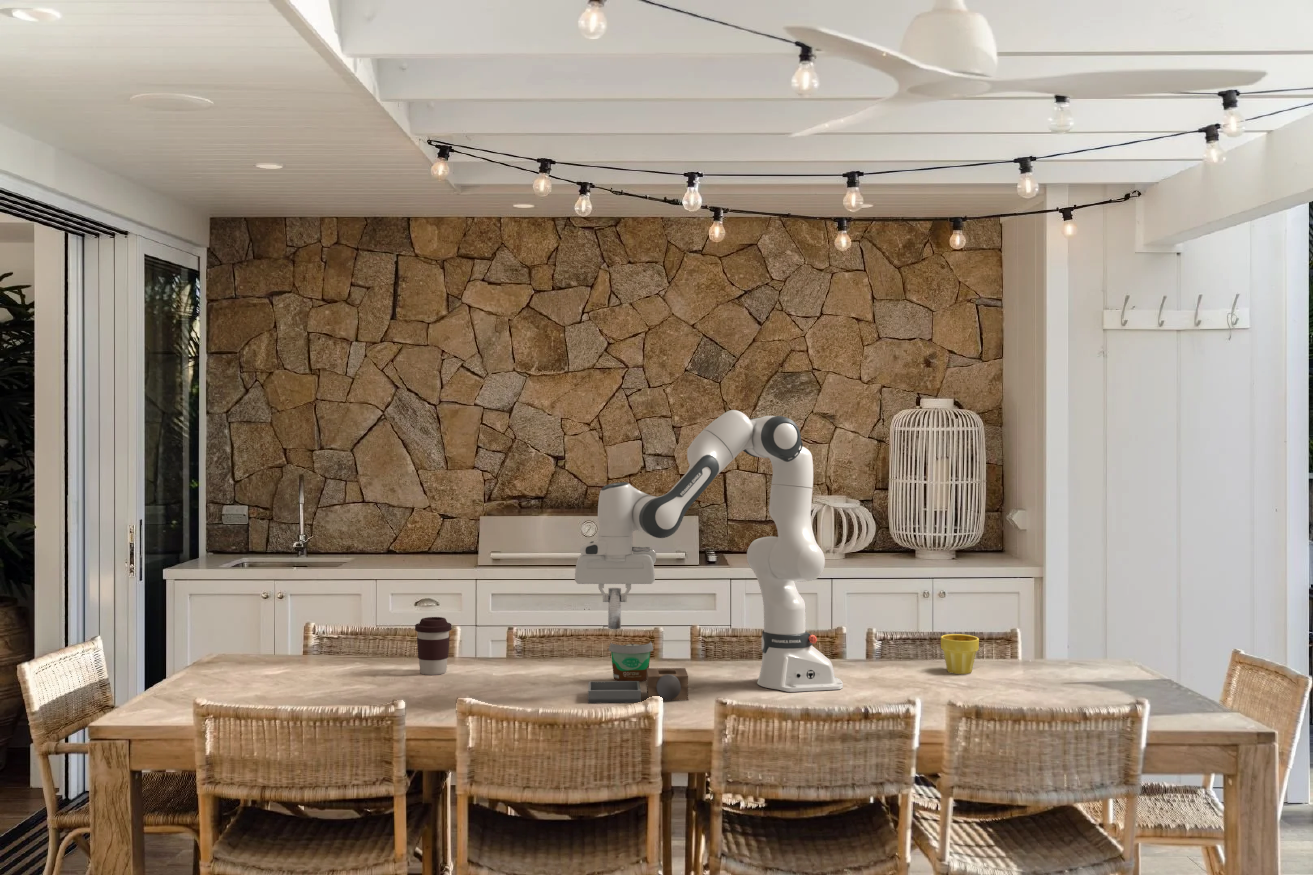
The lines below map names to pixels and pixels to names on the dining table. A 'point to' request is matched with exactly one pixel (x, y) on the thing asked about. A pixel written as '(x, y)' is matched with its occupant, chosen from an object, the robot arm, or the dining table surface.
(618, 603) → the lock pin
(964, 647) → the plant pot
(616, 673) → the food container
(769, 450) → the robot arm
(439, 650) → the coffee cup
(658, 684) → the block
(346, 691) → the dining table surface
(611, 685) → the tray
